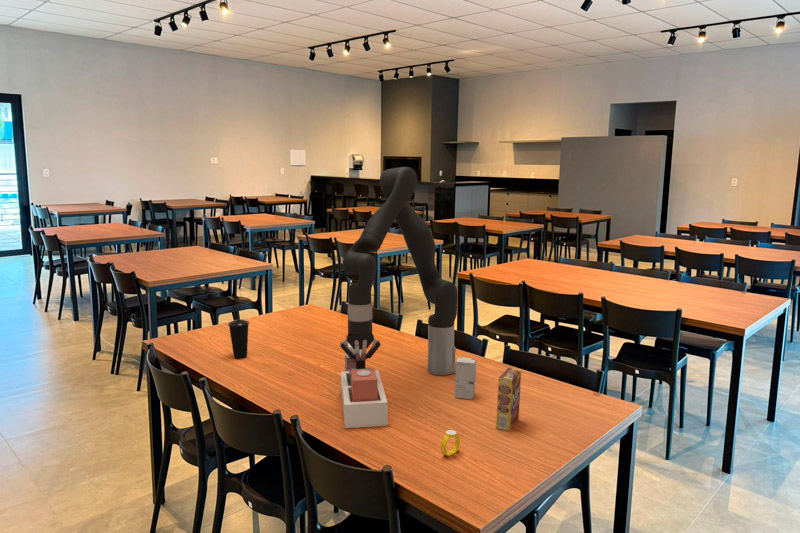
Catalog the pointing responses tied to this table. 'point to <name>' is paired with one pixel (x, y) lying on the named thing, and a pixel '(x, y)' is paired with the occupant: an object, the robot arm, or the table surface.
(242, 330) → the drinking cup
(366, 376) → the red button block
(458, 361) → the skincare box
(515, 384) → the candy box
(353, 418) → the frame
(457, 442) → the watch
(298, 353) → the table surface
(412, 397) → the table surface
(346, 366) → the pill bottle
